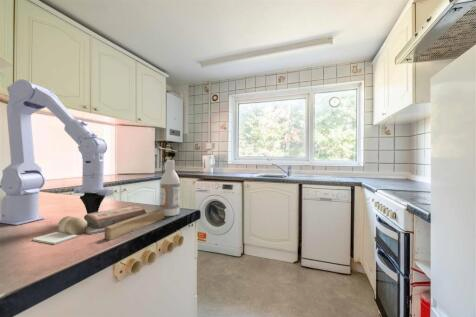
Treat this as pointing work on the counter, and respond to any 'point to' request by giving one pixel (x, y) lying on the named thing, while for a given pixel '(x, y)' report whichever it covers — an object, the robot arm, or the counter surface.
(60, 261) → the counter surface
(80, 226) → the roller
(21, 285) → the counter surface
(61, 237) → the felt mat
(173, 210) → the bath foam
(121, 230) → the rail
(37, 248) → the counter surface
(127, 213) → the packaged product
